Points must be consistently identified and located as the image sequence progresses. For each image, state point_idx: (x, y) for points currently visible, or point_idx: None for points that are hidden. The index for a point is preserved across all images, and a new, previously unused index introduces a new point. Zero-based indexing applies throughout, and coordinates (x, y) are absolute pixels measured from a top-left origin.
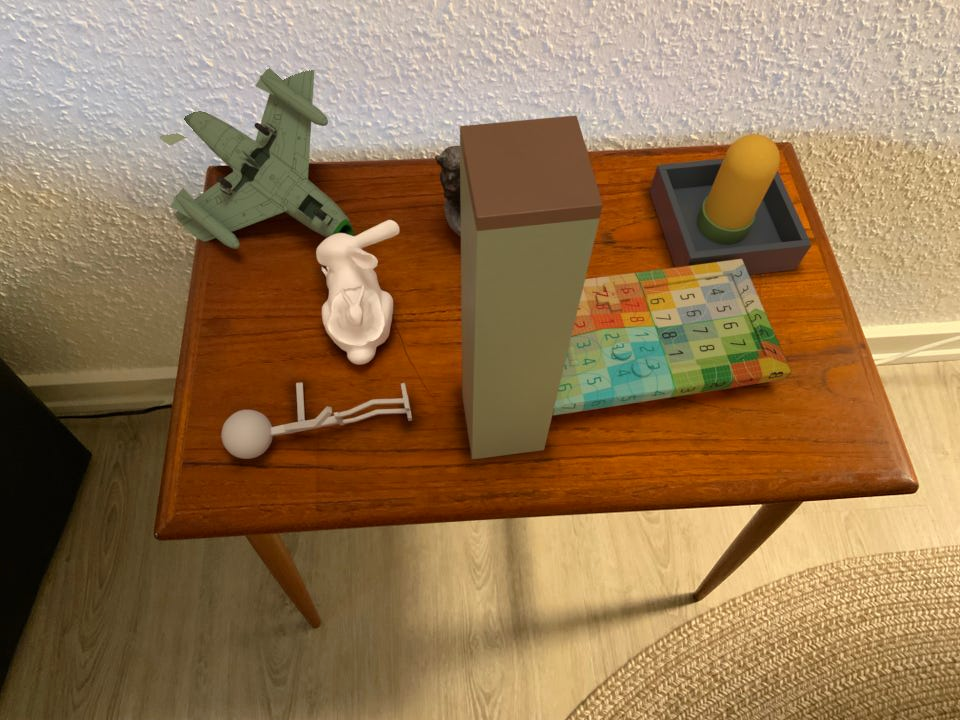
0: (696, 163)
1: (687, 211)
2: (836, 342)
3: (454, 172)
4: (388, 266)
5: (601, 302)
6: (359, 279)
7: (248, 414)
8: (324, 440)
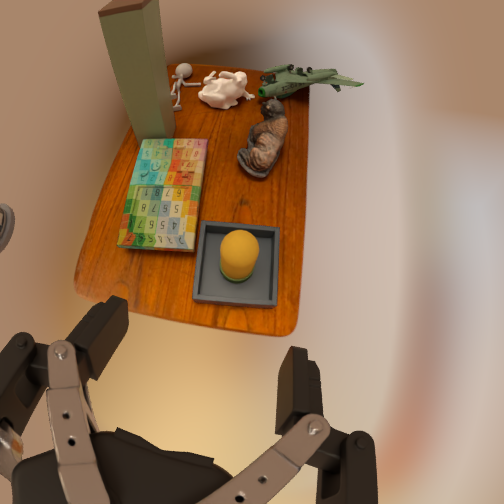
0: (276, 251)
1: None
2: (141, 301)
3: (265, 103)
4: (249, 113)
5: (184, 163)
6: (225, 83)
7: (186, 66)
8: (176, 90)
